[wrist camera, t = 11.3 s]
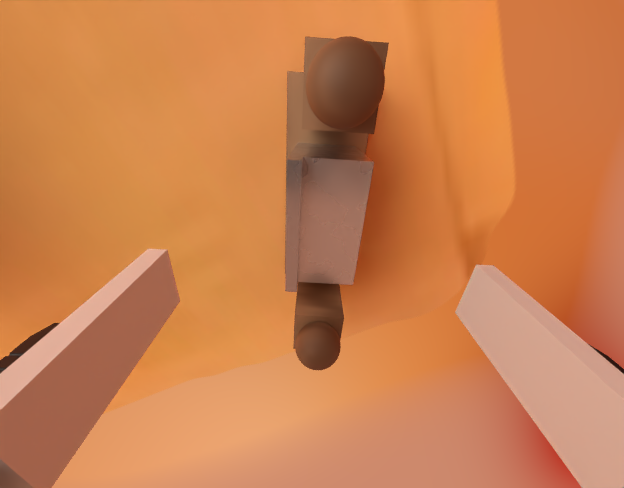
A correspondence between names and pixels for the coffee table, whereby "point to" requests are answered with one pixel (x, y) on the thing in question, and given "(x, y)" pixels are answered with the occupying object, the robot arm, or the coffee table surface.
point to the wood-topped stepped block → (325, 212)
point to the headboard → (333, 131)
